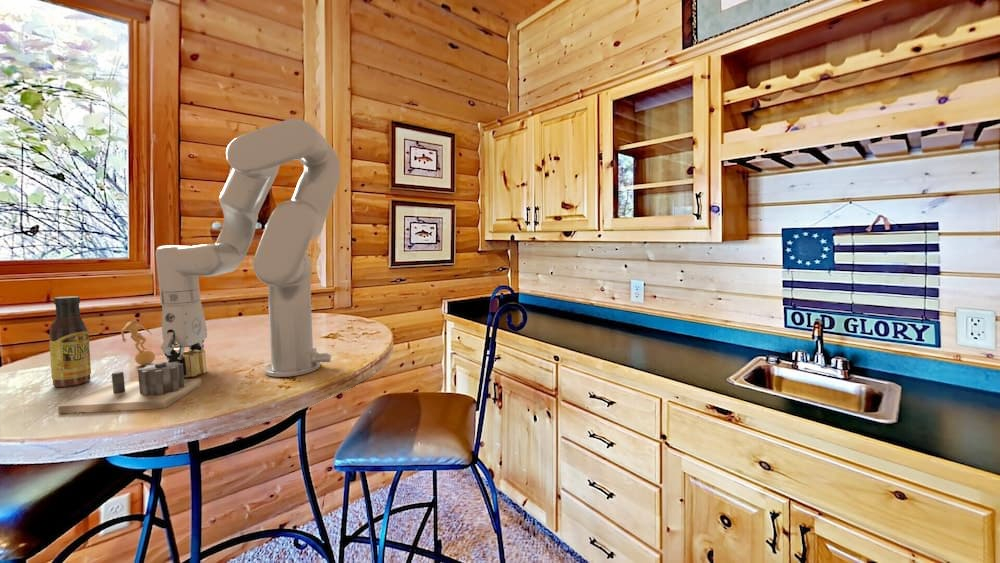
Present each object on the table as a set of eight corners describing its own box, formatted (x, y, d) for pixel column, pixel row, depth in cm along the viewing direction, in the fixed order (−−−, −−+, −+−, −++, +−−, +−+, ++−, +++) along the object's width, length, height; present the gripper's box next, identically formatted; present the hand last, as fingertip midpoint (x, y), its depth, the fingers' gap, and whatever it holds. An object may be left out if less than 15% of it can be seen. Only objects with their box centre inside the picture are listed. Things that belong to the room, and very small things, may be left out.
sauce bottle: (67, 389, 91) (57, 299, 89) (44, 387, 92) (34, 298, 90) (100, 379, 98) (92, 295, 96) (79, 377, 99) (70, 294, 97)
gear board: (201, 384, 94) (198, 354, 94) (165, 407, 82) (162, 372, 81) (110, 389, 91) (107, 357, 91) (58, 414, 79) (54, 377, 78)
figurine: (139, 370, 105) (135, 323, 103) (115, 369, 105) (111, 322, 103) (165, 360, 113) (162, 316, 112) (143, 360, 113) (139, 316, 112)
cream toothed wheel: (212, 367, 105) (210, 348, 104) (197, 377, 98) (194, 356, 97) (180, 369, 104) (178, 350, 103) (162, 379, 97) (160, 358, 96)
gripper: (176, 302, 91) (184, 381, 93) (216, 292, 108) (222, 359, 110) (137, 304, 89) (146, 384, 91) (184, 293, 106) (191, 360, 108)
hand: (188, 369), depth 101 cm, fingers closed on cream toothed wheel, 7 cm apart
